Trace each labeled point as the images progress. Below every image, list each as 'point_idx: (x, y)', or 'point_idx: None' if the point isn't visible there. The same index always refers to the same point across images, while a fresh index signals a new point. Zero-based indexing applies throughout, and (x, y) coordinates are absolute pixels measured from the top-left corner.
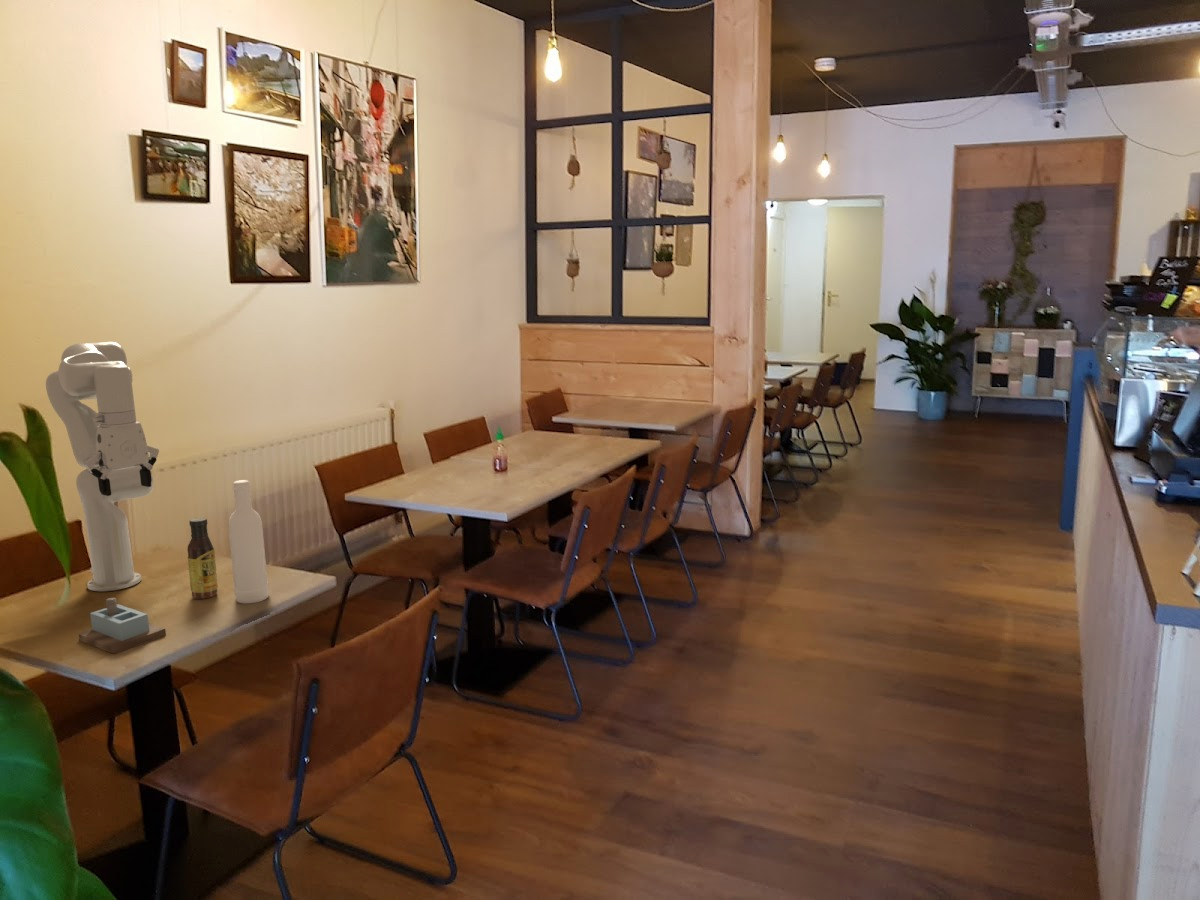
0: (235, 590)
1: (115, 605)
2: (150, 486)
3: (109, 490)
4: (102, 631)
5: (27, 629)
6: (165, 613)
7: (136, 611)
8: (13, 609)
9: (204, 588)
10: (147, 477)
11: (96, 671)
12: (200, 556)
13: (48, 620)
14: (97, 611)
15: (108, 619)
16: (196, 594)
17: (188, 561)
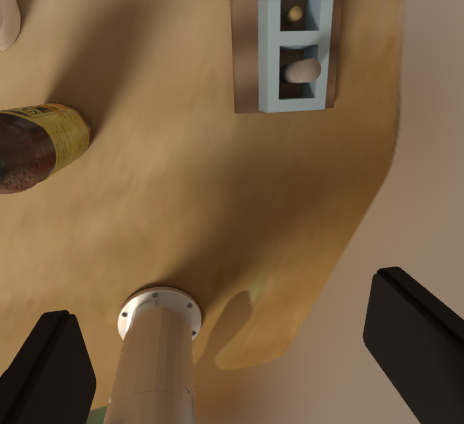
0: (5, 13)
1: (302, 60)
2: (53, 312)
3: (412, 287)
4: None
5: (336, 226)
6: (169, 103)
7: (271, 21)
8: (301, 316)
9: (64, 107)
10: (32, 384)
11: None
12: (25, 118)
13: (301, 238)
14: (312, 105)
15: (330, 29)
16: (85, 123)
17: (60, 157)
